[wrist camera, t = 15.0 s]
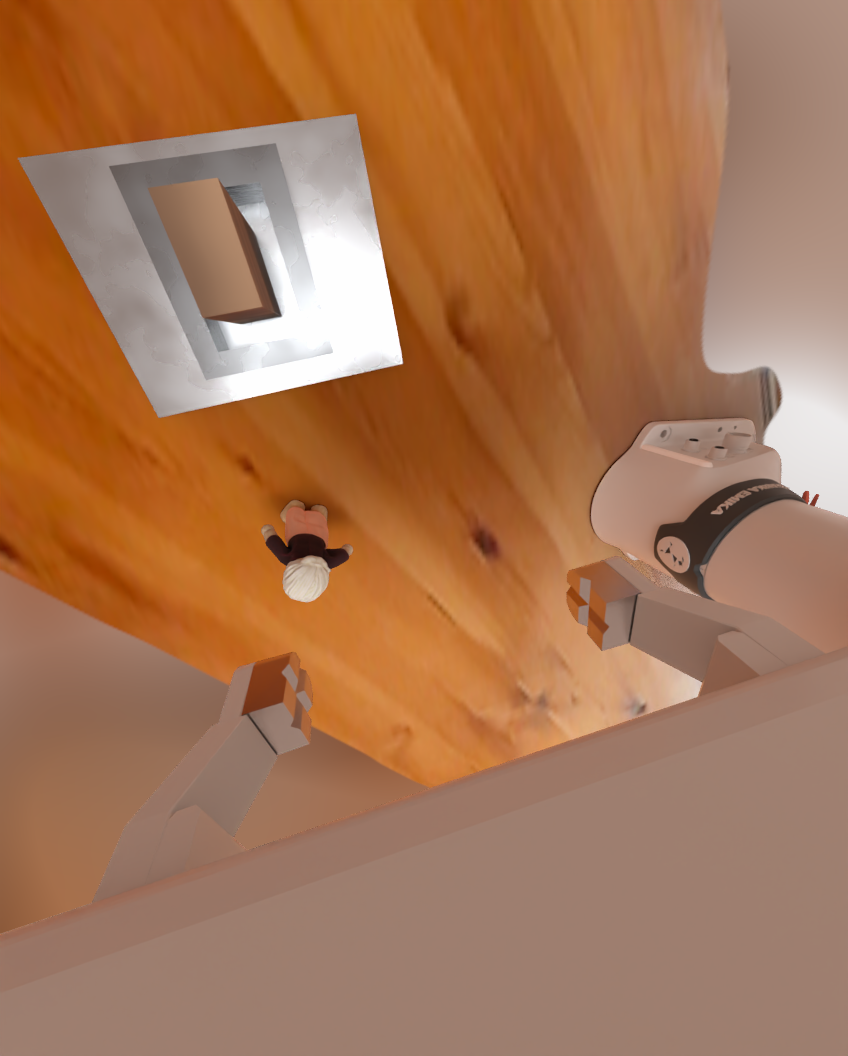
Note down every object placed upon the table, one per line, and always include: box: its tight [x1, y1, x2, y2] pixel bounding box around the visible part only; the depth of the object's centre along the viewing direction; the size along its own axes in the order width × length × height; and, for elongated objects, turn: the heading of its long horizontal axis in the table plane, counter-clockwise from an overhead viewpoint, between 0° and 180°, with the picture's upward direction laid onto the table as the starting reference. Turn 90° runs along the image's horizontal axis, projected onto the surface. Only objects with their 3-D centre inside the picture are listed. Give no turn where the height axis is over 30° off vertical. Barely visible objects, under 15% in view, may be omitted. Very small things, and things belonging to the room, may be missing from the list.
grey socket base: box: [18, 114, 403, 418], centre depth 25 cm, size 20×15×5 cm
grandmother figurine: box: [261, 500, 353, 602], centre depth 31 cm, size 8×4×13 cm, turn 78°
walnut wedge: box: [148, 178, 282, 324], centre depth 21 cm, size 3×5×10 cm, turn 10°
